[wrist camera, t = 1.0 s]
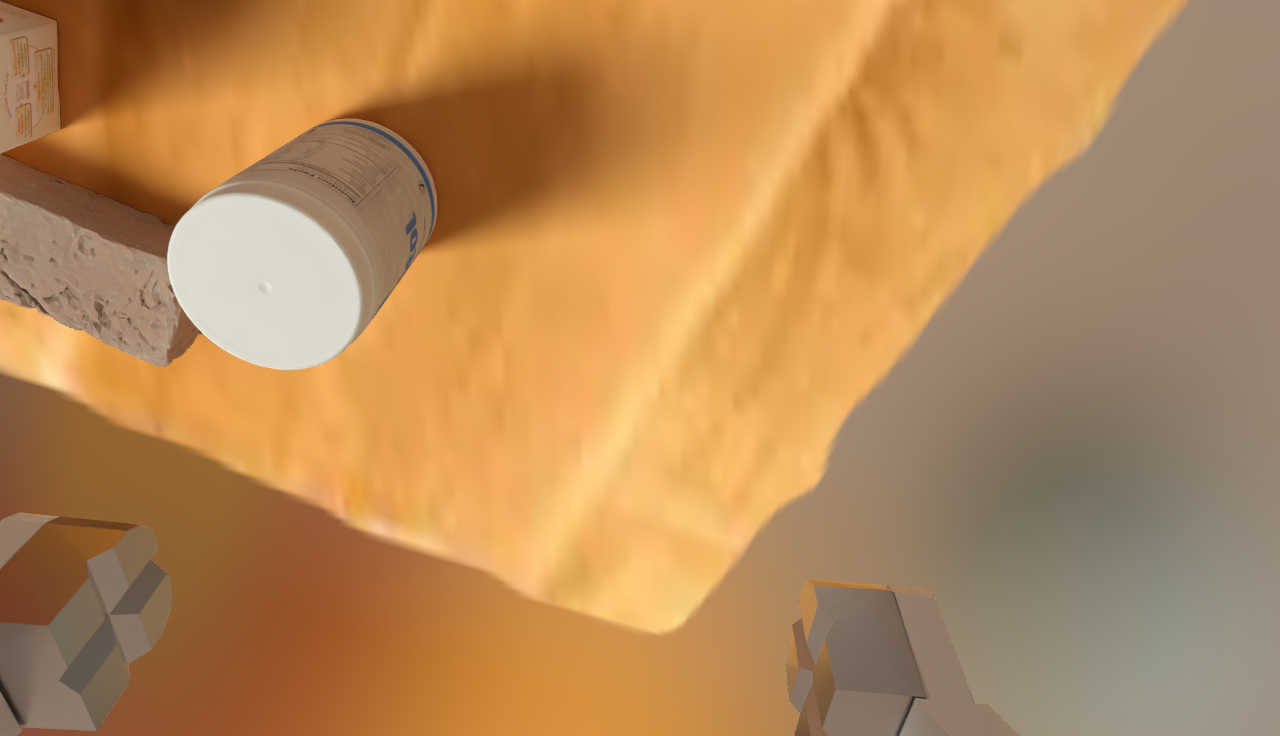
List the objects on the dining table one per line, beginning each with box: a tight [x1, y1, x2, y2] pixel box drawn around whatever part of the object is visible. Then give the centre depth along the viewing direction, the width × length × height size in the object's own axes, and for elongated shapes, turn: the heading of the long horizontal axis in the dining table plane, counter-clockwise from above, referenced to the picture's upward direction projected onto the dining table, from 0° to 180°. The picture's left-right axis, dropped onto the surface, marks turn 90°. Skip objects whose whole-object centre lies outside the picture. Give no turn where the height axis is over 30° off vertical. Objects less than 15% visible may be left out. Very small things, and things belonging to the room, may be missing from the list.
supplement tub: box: [167, 118, 437, 370], centre depth 44 cm, size 10×10×15 cm
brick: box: [0, 154, 200, 367], centre depth 51 cm, size 16×8×5 cm, turn 64°
